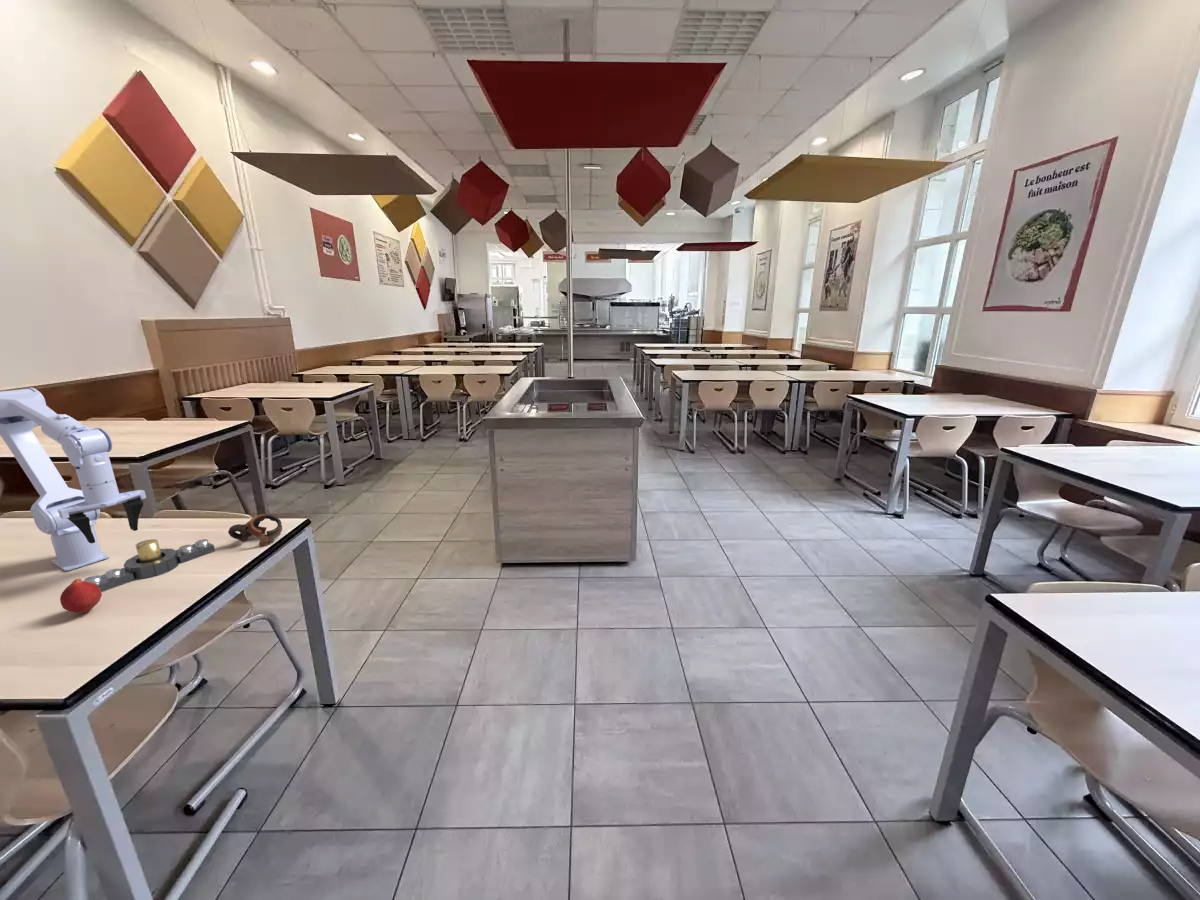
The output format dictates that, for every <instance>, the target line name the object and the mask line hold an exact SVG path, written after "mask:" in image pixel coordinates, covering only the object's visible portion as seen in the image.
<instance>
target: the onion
mask: <svg viewBox="0 0 1200 900" xmlns="http://www.w3.org/2000/svg"><path fill="white" fill-rule="evenodd" d="M102 594H103V593H102V592H101V590H100V588H99V587H98V586H96V585H95V584H93V583H91V582H86V581H84V580H82V578H81V577H76V578H74V580H73V581H72V582H71V583H70V584H69V585H68V586H66V587H65V588H64V590H63V591H62V592H61V595H60V598H59V600H60V604H61V605H60V606H62V608H63V609H64V610H65V611H66V612H67V611H68V612H71V613H77V614H88V613H89V612H90V611H92V610H93V608H94V607H95V606H97V604H98V603H99V602H100V601H101V598H102Z"/></svg>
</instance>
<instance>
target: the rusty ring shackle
mask: <svg viewBox="0 0 1200 900" xmlns="http://www.w3.org/2000/svg"><path fill="white" fill-rule="evenodd" d="M266 519H268V520H270V521H272V522H276V524H277V526H276V527H275V528H273V529H270V530H267V527H266V526H260V524H261V522H263V521H264V520H266ZM238 532H239V533H238ZM282 532H283V525H282V520H281V519H280V518H279V517H278V516H276V515H273V514H266V513H263V514H257V515H255V516H253V517H252V518H251V519H250V520H249V521H247V522H246V523H244V524H239V523H238V524H233V525H232V526H231V527H230V528H229V529H228V531H227V533H228V535H229V536H230V537H231V538H233V539H234V540H238V541H240V542H241V543H245V542H247V541H248V539H249V538H251V537H252V536H254V537H256V538H259V539H260V540H259V543H258V545H259V547H260V546H261V547H266V546H267V545H268V544H269V542H272V541H273V540H275V539H277V538H278V537H279V536H280V535H282Z"/></svg>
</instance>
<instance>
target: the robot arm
mask: <svg viewBox="0 0 1200 900" xmlns="http://www.w3.org/2000/svg"><path fill="white" fill-rule="evenodd" d="M38 426H40V430H41V432H42V433H43V435H45V436H47V437H48V438H50V439H52V440H53V441H55V442H56V443H58V444H59V445H61V449H62V451H63V452H64V454H65V455H66V456H67V458H68V461H69V463H70V465H71V466H73V467H74V469H75V472H76V476H77V478H78V481H79V482H78V483H79V486H80V488H81V489H76V488H73V487H69V486H68V485H67V483H66V482H65V480H64V478H63V477H62V475H61V473H60V471H59V470H58V469H57V467H56V466H55V465H54V462H53V461H52V459H51V458H50V456H49V455H48V454H47V452H46V450H45V449H44V447H43V446H42V444H41V442H40V440H39V439H38V438H37V436H36V435H35V433H34V431H33V430H34V428H36V427H38ZM0 437H1V439H2V440H3V441H4V443H5V444H6V446H7V447H8V449H9V451H10V452H11V454H12V455H13V456H14V459H16V461H17V463H18V464H19V466H20V467H21V469H22V470H23V472H24V473H25V475H26V477H27V478H28V479H29V481H30V482H31V485H32V486H33V488H34V489H35V490H36V492H37V493H38V495H39V497H38V498H37V500H36V501H35V502H34V503H32V505H31V507H30V514H31V515H32V517H33V520H34V521H33V522H34V523H35V526H36V527H37V529H38V530H39V531H40V532H42V533H43V534H46V535H49V536H50V540H51V541H50V542H51V544H52V547H53V549H54V553H55V557H56V558H55V559H52V560H51V562H52V563H53V564H54V565H55V566H57V567H59V568H60V569H62V570H63V571H65V572H68V571H72V570H76V569H78V568H81V567H85V566H88V565H90V564H93V563H97V562H100V561H104V560H107V559H109V558H110V555H108V554H106V553H104V552H103V551H102V550H101V546H100V543H99V539H98V536H97V534H96V530H95V526H94V525H97V520H99V518H100V515H101V509H105V508H108V507H113V506H117V505H121V504H122V506H123V509H124V511H125V514H126V518H127V521H128V526H129V528H130V530H131V531H134V532H135V531H138V530H139V528H138V527H139V517H140V514H141V511H142V508H144V507H143V506H144V499H147V495H146V491H145V490H143V489H137V490H132V491H125V492H119V491H120V490H119V487H118V485H117V484H118V483H117V480H116V478H115V473H114V469H113V467H112V463H111V460H110V459H111V458H110V456H109V452H111V451H112V448H113V441H112V438H111V436H110V435H109V434H108V432H107V431H106V430H104V429H103V428H101V427H88V426H87V425H85V424H83V423H81V422H79V421H78V420H76V419H75V418H74V417H71V416H70V415H67V414H66V413H64V414H62V413H60V414H58V413H57V412H55V411H54V410H53V409H52V408H50V407H49V406H48V405H47V403H46V399H45V397H44V395H43V394H42V392H41V391H39V390H38V389H36V388H34V387H26V388H21V389H12V390H3V391H0Z"/></svg>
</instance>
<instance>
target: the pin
mask: <svg viewBox="0 0 1200 900" xmlns="http://www.w3.org/2000/svg"><path fill="white" fill-rule="evenodd" d="M135 548H136V552H137V555H138V557H139V560H140V563H149V562H153V561H156V560H159V559H161V558H162V555H161V551H160V549H161V548H160V545H159V540H158V539H156V538H152V539H146V540H141V541H140V542H138V543H136V544H135Z"/></svg>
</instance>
